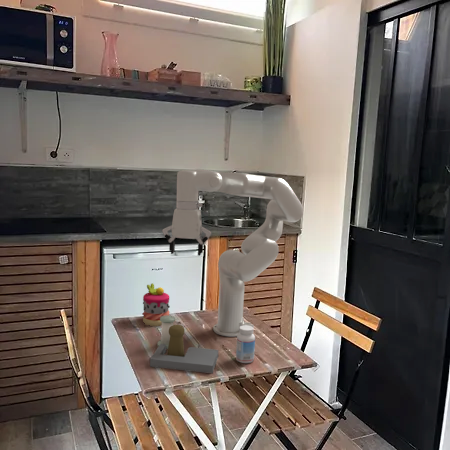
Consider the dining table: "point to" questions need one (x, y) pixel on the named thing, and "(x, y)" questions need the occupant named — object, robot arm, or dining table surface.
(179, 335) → the cork
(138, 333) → the dining table surface
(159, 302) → the cake
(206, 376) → the dining table surface
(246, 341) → the pill bottle
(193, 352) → the gray block
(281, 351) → the dining table surface
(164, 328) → the bobbin post
